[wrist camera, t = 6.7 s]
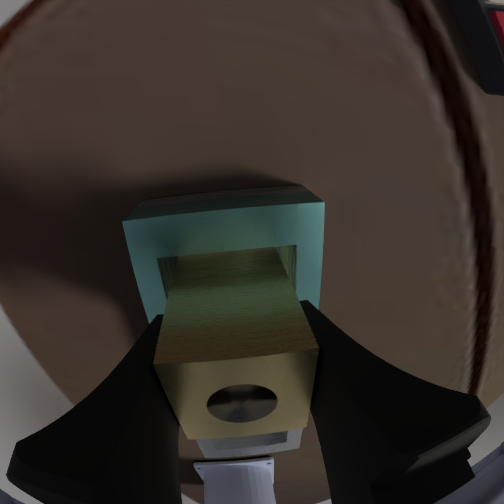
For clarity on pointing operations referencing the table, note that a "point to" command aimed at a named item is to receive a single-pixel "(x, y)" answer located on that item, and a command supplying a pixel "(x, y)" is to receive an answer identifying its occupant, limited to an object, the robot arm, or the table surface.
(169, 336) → the nut
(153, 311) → the white teal tray block
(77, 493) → the robot arm
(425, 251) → the table surface
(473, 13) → the calculator
